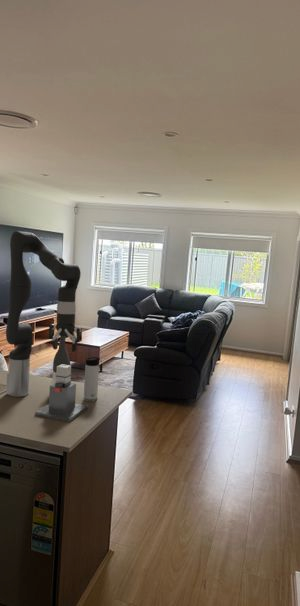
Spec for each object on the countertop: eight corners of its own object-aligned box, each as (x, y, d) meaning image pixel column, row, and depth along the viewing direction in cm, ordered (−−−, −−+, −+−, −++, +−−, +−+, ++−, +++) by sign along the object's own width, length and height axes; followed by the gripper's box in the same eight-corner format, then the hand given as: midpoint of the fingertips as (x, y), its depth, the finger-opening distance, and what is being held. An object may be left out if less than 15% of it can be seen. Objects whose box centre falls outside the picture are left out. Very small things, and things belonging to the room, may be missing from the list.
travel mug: (95, 402, 190) (97, 359, 188) (81, 400, 191) (83, 358, 189) (99, 397, 196) (101, 356, 194) (86, 396, 197) (88, 355, 195)
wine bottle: (52, 395, 195) (54, 332, 192) (51, 389, 203) (54, 329, 200) (69, 394, 197) (72, 333, 194) (68, 389, 205) (71, 329, 202)
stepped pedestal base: (35, 415, 170) (36, 384, 169) (54, 403, 185) (56, 374, 184) (69, 422, 166) (71, 390, 164) (87, 409, 181) (88, 379, 179)
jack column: (54, 408, 174) (56, 366, 172) (60, 404, 178) (61, 364, 176) (64, 410, 172) (66, 368, 170) (69, 406, 177) (71, 365, 175)
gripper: (46, 311, 169) (44, 350, 171) (77, 314, 165) (75, 354, 167) (55, 309, 177) (54, 346, 178) (85, 312, 173) (84, 350, 174)
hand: (64, 350), depth 173 cm, fingers open, 8 cm apart
